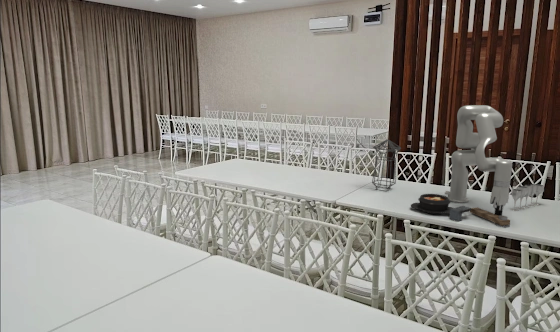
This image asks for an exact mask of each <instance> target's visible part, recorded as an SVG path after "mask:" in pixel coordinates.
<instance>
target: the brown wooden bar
mask: <svg viewBox="0 0 560 332" xmlns="http://www.w3.org/2000/svg"><path fill="white" fill-rule="evenodd" d="M471 208H472V209H471V211H469V213H471V214H473V215H475V216H478V217H480V218H484V219H485V220H488V221H490V222H493V223H497V224H499V225H510V226H511V219H508V216H506V215H502V216H498V215H496V214H495V213H493V212H491V211H488V210H485V209H483V208H480V207H479V206H478V207H471Z"/></svg>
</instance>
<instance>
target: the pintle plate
mask: <svg viewBox="0 0 560 332" xmlns="http://www.w3.org/2000/svg"><path fill="white" fill-rule="evenodd" d="M493 223H494V225H495V226H496V227H500V228H510V227H511V224H510V225H499V224H497V223H495V222H493Z"/></svg>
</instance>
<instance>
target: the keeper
mask: <svg viewBox="0 0 560 332" xmlns="http://www.w3.org/2000/svg"><path fill="white" fill-rule="evenodd" d="M472 208H473V207H469V206H465V205H461V206H457V207H453V209H450V214H449V220H452V221H454V220H455V222H460V221H462V216H463V214H465V213H470V211H471V209H472Z"/></svg>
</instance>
